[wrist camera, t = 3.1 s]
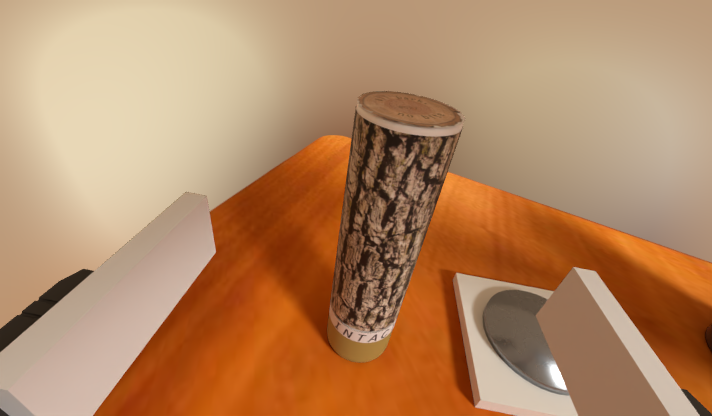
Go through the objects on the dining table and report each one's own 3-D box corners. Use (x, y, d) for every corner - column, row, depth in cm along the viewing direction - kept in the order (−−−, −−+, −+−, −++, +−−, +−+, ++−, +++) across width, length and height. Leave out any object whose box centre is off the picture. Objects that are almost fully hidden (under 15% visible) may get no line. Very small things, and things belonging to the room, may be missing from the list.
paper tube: (324, 309, 35) (350, 87, 21) (380, 307, 37) (441, 96, 22) (328, 368, 30) (366, 122, 16) (394, 363, 31) (485, 132, 17)
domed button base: (569, 302, 41) (579, 290, 40) (645, 441, 28) (664, 431, 27) (452, 280, 42) (458, 267, 40) (474, 407, 29) (484, 395, 27)
